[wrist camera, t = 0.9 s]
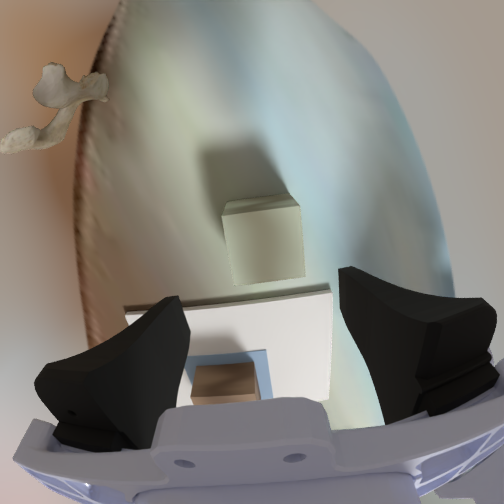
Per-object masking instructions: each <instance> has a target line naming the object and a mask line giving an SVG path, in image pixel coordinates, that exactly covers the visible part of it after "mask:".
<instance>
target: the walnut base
mask: <svg viewBox="0 0 504 504" xmlns="http://www.w3.org/2000/svg"><path fill="white" fill-rule="evenodd" d="M190 398H191V400H192V402H193V404H194V405H209V404H224V403H236V402H246V401H255V400H261V394H260V389H259V384H258V379H257V374H256V369H255V363H254V362H245V363H234V364H221V365H206V366H196V370H195V375H194V380H193V385H192V390H191V395H190Z"/></svg>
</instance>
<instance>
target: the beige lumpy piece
mask: <svg viewBox="0 0 504 504" xmlns="http://www.w3.org/2000/svg"><path fill="white" fill-rule="evenodd" d="M108 89H109V81H108V78H107V77H106V74H105V73H104V74H99V73H98V72H95V73H91V74H90V75H88V76H85V75H83V77H82V79H81V80H80V82H79V83H77V82H74V81H73V80H71V79H70V78H69V77H68V76H67V75H66V71H65V68H64V67H63V65H61V64H57V63H53V62H51V63H49V64H48V65H47V66H44V67H43V74H42V78H41V80H40V81H39V83H38V84H37V85H36V86H35V88H34V89H33V96H34V98H35V99H36V101H38V102H39V103H40V104H41V105H43V106H46V107H50V108H59V111H58V113H57V115H56V116H55V117H54V119H53V120H52V121H51V122H50V124H49V125H47V126H46V127H45V128H43V129H41V130H40V129H38V128H36V127H34V126H29V127H25V128H17V129H15V130H13V131H11V132H9V133H8V134H7V135H6V136H5V137H4V138H2V139H1V141H0V152H2V153H16V152H19V151H21V150H27V149H45V148H48V147H51V146H53V145H56V144H58V143H60V142H61V141H63V140H64V138H65V134H66V132H67V129H68V127H69V124H70V122H71V120H72V118H73V115H74V113H75V111H76V109H77V107H78V106H79V105H80V104H81V103H82V102H84V101H87V100H93V99H94V100H99V101H102V102H106V101H108V100H109V98H108V97H107V96H106V95H107V92H108Z"/></svg>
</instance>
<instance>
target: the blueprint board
mask: <svg viewBox="0 0 504 504" xmlns="http://www.w3.org/2000/svg"><path fill="white" fill-rule="evenodd" d="M147 311H148V310H147ZM147 311H132V312H127V313H126V315H125V317H126V319H127V322H128V324H129V325H131V324H132V323H133V322H135V321H136V320H137V319H138V318H140V317H141V316H142V315H143V314H145V313H146V312H147ZM183 311H184V314H185V317H186V320H187V322H188V325H189V328H190V331H191V335H190V345H189V351H188V355H187V359H186V363H185V367H184V370H183V374H182V378H181V382H180V386H179V390H178V396H177V404H176V407H181V406H186V405H194V404H193V402H192V400H191V398H190V395H191V390H192V385H193V380H194V375H195V370H196V366H206V365H221V364H234V363H245V362H254V363H255V369H256V374H257V379H258V384H259V389H260V394H261V400H263V399H271V398H278V397H305V398H308V399H310V400H313V401H322V400H327V399H329V387H330V371H331V351H332V313H333V292H332V290H331V289H328V290H321V291H315V292H308V293H301V294H294V295H287V296H280V297H273V298H265V299H257V300H249V301H240V302H232V303H223V304H214V305H204V306H194V307H183Z"/></svg>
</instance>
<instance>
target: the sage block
mask: <svg viewBox="0 0 504 504" xmlns="http://www.w3.org/2000/svg"><path fill="white" fill-rule="evenodd" d="M221 217H222V223H223V228H224V234H225V240H226V245H227V251H228V257H229V262H230V268H231V273H232V278H233V284H234V286H240V285H248V284H255V283H263V282H271V281H278V280H286V279H293V278H300V277H306V275H305V260H304V246H303V233H302V222H301V211H300V205H299V204H298V203H297V202H296V200H295V199H294V198H293V197H292V196H291V195H290V193H287V194H278V195H270V196H263V197H255V198H248V199H241V200H234V201H227V203H226V206H225V208H224V211H223V213H222V216H221Z"/></svg>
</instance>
